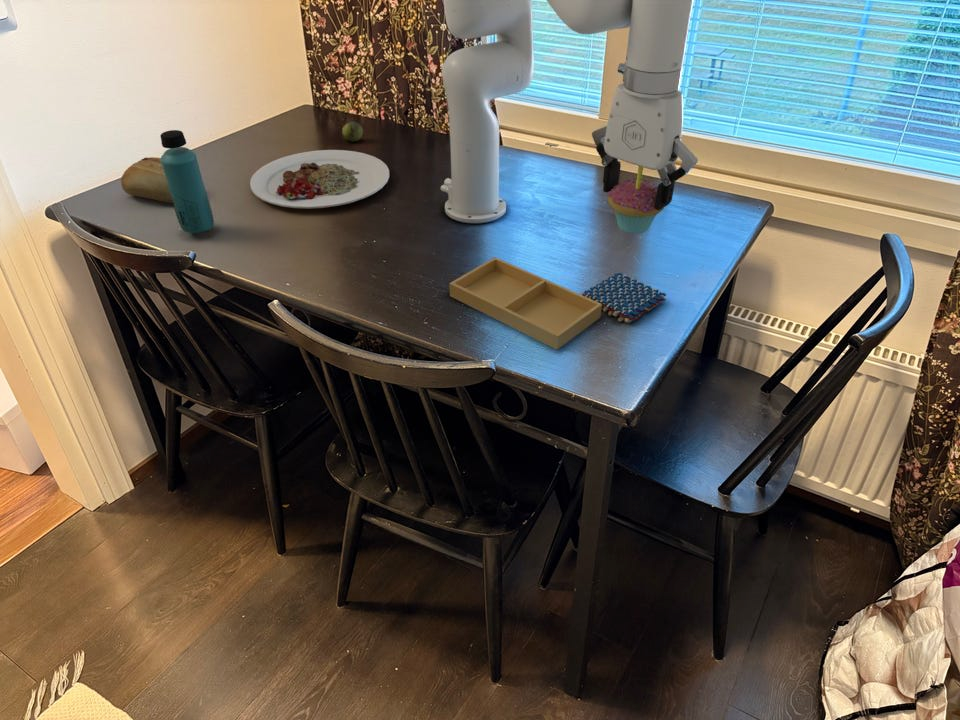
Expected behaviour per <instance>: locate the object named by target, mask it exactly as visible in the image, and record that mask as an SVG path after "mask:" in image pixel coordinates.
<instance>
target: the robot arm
mask: <svg viewBox="0 0 960 720" xmlns="http://www.w3.org/2000/svg"><path fill="white" fill-rule="evenodd" d="M546 2H547V3H548V4H549V6H550V7H551V9H552V10H553V11H554V12H555V14H556V15H557V16H558V18H559V19H560V20H561V22H563V24H564V25H565V26H566V27H568V28H569V29H570V30H571V31H573V32H575V33H577V34H579V35H593V34H594V35H595V34H599V33H600V34H601V33H603V32H610V31H613V30H620V29H628V28H629V30H628V39H627V47H626V57H625V61H624V62H620V63H619V64H618V65H617V73H618V74H621V75H622V78H623V79H622V82H623V83H620V84H618V85H617V87H616V90H615V93H614V96H613V99H612V102H611V106H610V110H609V115H608V120H607V124H606V125H605V126H602V127H600V128H598V129H596V130H593V131H592V132H591V137H592V139H593V143H594V145H595V146H596V147H595V149H596V152H597V154H598V156H599V157H600V159H601V164H602V166H603V167H604V168H603V176H602V177H603V179H602V183H603V188H602V191H603V193H606V194H607V193H609V192H610V191H611V189H612V188H613V187H614V186H615V185H617V184H620V183H619V182H620V176H621V167H622V166H621V165H622V164H621V162H625V163H628V164H631V165H634V166H638V167H639V166H641V167H643V169H644V168H645V169H649V170H652V171H656V172H657V174H658V176H659V177H660V180H661V182H660V183H658V184H657V187H658V188H657V194H656V201H655V209H656V210H661V209H662V208H664V209H665V207H667V206H668V205H669V204H671V203H672V201H673V197H674V189H675V184H676V181H678V180H679V179H681V178H683V177H684V176H686V175H687V174H689V172H690V171H691V170H692V169H693V168H694V167H695V166H696V165H697V164H698V161H699V159H698V157H697V156H696V155H695V154H694V153H693V152H692V151H691V150H690V148H689V147H687V145H686V144H685V143H684V142H683V141H682V137H683V136H682V135H683V124H684V98H683V96H684V95H683V92H682V91H681V90H680V85H681V80H682V74H683V73H682V72H683V65H684V62H685V61H684V60H685V54H686V48H687V43H688V42H687V41H688V35H689V30H690V24H691V17H692V11H693V4H694V0H546ZM443 8H444V16H445V22H446V26H447V29H448V31H449V33H450V34H451V35H452V36H453V37H455V38H457V39H461V40H466V39H467V40H469V39H470V40H471V39H479V38H482V37H488V36H489V37H490V36H493V35H494V36H495V35H496V41H494V42H489V43H482V44H476V45H472V46H471V45H470V46H467V47H463V48H460V49H457V50H455V51H454V52H452V53H450V54H449V55H448V56H447V57H446V59H445V60H444V62H443V65H442V69H441V77H442V79H441V80H442V85H443V88H444V93H445V98H446V105H447V110H448V111H447V112H448V123H449V125H448V126H449V145H450V147H449V149H450V175H451V178H449V177H447V178H445V180H444V181H443V184H441V186H440V191H441V192H443V193H445V194H447V196H448V198H447V200H446V201H445V203H444V212H445V214H446V216H448V217H449V218H451V219H452V220H455V221H456V222H460V223H464V224H465V223H466V224H484V223H490V222H493V221H496V220H498V219H500V218H502V217H503V216H504V215H505V214H506V212H507V203H506V201H505V200H504V199H503V198H502V197H501V196H500V124H499V120H498V117H497V115H496V114H495V113H494V111H493V109H492V108H491V106H490V102H491V101H492V100H495V99H497V98H498V99H499V98H503V97H507V96H511V95H515V94H518V93H521V92H524V91H525V90H526V89H527V88H529V86H530V84H531V82H532V81H533V78H534V71H535V70H534V69H535V53H534V25H533V20H534V19H533V5H532V0H443ZM678 159H680V160H681V165H680V166H679V167H678V168H677V166H676V163H675V162H676V161H677V160H678Z"/></svg>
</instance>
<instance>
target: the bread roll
mask: <svg viewBox="0 0 960 720" xmlns="http://www.w3.org/2000/svg"><path fill="white" fill-rule="evenodd" d="M160 159H161V157H144V158H141V159H140V160H138V161H137V162H134V163H132V164H131V165H130V166H129V167H127V168H126V169H125V171H124V172H123V174H122V176H121V177H120V184H121V188H122V190H123V191H124V192H125V193H126V194H127V195H130V196H133V197H140V198H143V199H150V200H154V201H160V202H164V203H170V204H174V203H173V200H172V199H171V198H172V196H171V193H170V190H169V186H167V185H168V183H167V179H166V176H165V172H164V169H163V166H162V163H161V160H160Z"/></svg>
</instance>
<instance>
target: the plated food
mask: <svg viewBox="0 0 960 720" xmlns="http://www.w3.org/2000/svg"><path fill="white" fill-rule="evenodd" d="M389 179H390V169H389V167H388V165H387V164H386V163H385V162H384V161H382V160H381V159H379V158H377V157H376V156H373V155H371V154H367V153H364V152H359V151H354V150H346V149H345V150H344V149H321V150H320V149H318V150H310V151H303V152H298V153H293V154H291V155H287V156H283V157H280V158H277V159H275V160H271V161H270V162H269V163H266V164H264V165H262V166H261V167H260V168H259V169H257V170H256V171H255V172H254V173H253V175H252V176H251V178H250V181H249V185H250V191H251V192H252V194H253V195H254V196H256V197H257V198H258V199H260V200H261V201H263V202H266V203H268V204H270V205H275V206H279V207H284V208H292V209H324V208H325V209H326V208H331V207H338V206H343V205H347V204H351V203H354V202H358V201H361V200H364V199H365V198H368V197H370V196H372V195H374V194H376V193H377V192H379V191H380V190H382V189H383V187H384V186H385V185H386V184H387V183H388V182H389Z"/></svg>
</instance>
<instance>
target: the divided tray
mask: <svg viewBox="0 0 960 720" xmlns="http://www.w3.org/2000/svg"><path fill="white" fill-rule="evenodd" d="M449 297H450V298H452V299H454V300H457V301H459V302H460V303H463V304H465V305H467V306H469V307H471V308H473V309H474V310H477V311H478V312H480V313H483V314H484V315H486V316H489V317H491V318H492V319H494V320H497V321H499V322H500V323H503V324H505V325H506V326H509V327H510V328H512V329H515V330H517V331H519V332H521V333H522V334H524V335H526V336H528V337H530V338H532V339H535V340H537V341H538V342H540V343H543V344H545V345H546V346H548V347H551V348H552V349H554V350H556V351H557V350H559V349H560V348H562V347H563V346H564V345H566V344H567V343H569V342H570V341H571V340H572V339H573V338H575V337H576V336H578V335H579V334H580V333H582V332H583V331H584V330H586V329H587V328H588V327H589V326H591V325H593V324H594V323H595V322H597V321H598V320H599V319H600V318H602V317H601V316H602V310H603V308H602V304H601V303H598V302H596V301H594V300H591V299H589V298H587V297H585V296H582V294H580V293H578V292H575V291H573V290H571V289H569V288H566V287H564V286H562V285H559V284H557V283H555V282H553V281H551V280H549V279H546V278H544V277H542V276H539V275H537V274H535V273H532V272H531V271H528V270H526V269H524V268H521V267H519V266H517V265H515V264H512V263H510V262H508V261H505V260H503V259H501V258H498V257H496V256H494V257H492V258H491V259H489V260H487V261H486V262H484V263H482V264H481V265H479V266H477V267H475V268H474V269H472V270H470V271H468V272H466V273H464V274H463V275H461V276H460V277H458V278H456V279H454V280H452V281H451V282H449Z"/></svg>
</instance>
